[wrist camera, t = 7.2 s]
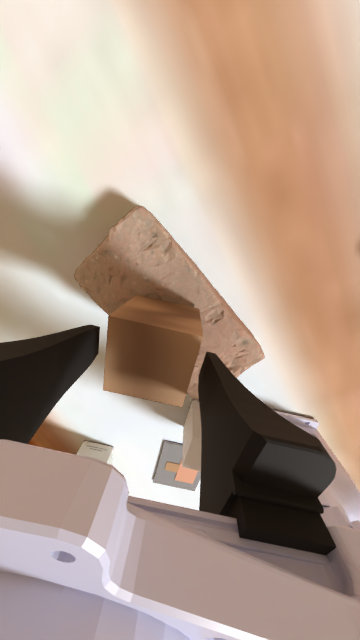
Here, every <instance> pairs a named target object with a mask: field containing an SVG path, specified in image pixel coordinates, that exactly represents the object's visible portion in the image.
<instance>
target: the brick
mask: <svg viewBox="0 0 360 640" xmlns="http://www.w3.org/2000/svg"><path fill="white" fill-rule="evenodd" d="M74 277H75V279H76V280H77V281H78V282H79V285H80V286H81V287H82V288H83V289H84V290H85V291H86V292H87V293H88V294H89V295H90V297H91V298H92V299H93V300H94V301H95V302H96V303H97V304H98V305H99V306H100V307H101V308H102V309H103V310H104V311H105V312H106V313H107V314H108V315H110V314H111V313H113V312H114V311H115V310H117V309H118V308H119V307H121V306H122V305H123V304H125V303H126V302H127V301H129V300H130V299H132V298H133V297H134V296H136V295H142V296H146V297H150V298H155V299H159V300H163V301H168V302H172V303H176V304H181V305H185V306H190V307H194V308H198V309H199V310H200V317H201V324H202V331H203V340H202V343H201V347H200V350H199V353H198V357H197V360H196V363H195V367H194V370H193V373H192V377H191V380H190V383H189V387H188V390H187V393H188V394H189V395H190V397H191V398H193V399H199V396H198V376H199V373H200V370H201V367H202V364H203V361H204V358H205V355H206V351H207V352H211V353H215V354H216V355H217V356H218V357H219V358H220V359H221V361H222V362H223V363H224V364H225V366H226V367H227V368H228V369H229V370H230V372H231V373H232V374H233V375H234V376H235V377H236V378H237V377H238V376H239V375H240V374H241V373H243V372H244V371H245V370H247V369H248V368H249V367H251V366H252V365H254V364H256V363H257V362H259V361H261V360H262V359H264V358H265V357H264V353H263V351H262V349H261V346H260V345H259V343H258V342H257V341H256V339H255V338H254V336H253V335H252V333H251V332H250V330H249V329H248V328H247V327H246V326H245V324H244V323H243V322H242V321H241V320H240V319H239V318H238V316H237V315H236V314H235V313H234V311H233V310H232V309H231V307H230V306H229V305H228V304H227V303H226V301H225V300H224V298H223V297H222V296H221V295H220V294H219V293H218V291H217V290H216V289H215V288H214V287H213V286H212V284H211V283H210V282H209V281H208V279H207V278H206V277H205V275H204V274H203V273H202V272H201V271H200V269H199V268H198V267H197V265H196V264H195V263H194V262H193V261H192V259H191V258H190V257H189V256H188V255H187V254H186V253H185V252H184V250H183V249H182V248H181V247H180V245H179V244H178V243H177V242H176V241H175V240H174V239H173V237H172V236H171V235H170V234H169V232H168V231H167V230H166V229H165V228H164V227H163V226H162V224H161V223H160V222H159V221H158V220H157V219H156V218H155V217H154V216H153V214H152V213H151V212H149V211H148V210H147V209H146V208H144V207H143V206H137V207H134V208H133V209H132V210H131V211H130V212H129V213H128V214H127V215H126V216H125V217H124V218H122V219H121V220H120V221H118V224H116V225H115V226H113V227H112V228H111V229H110V231H109V234H108V236H107V237H106V238H105V239H104V241H103V243H102V244H101V245H99V246H98V248H97V249H96V250H95V251H94V252H93V253H92V254H91V255H90V256H88V257H87V258H85V260H84V261H83V263H82V264H81V265H80V266H79V267H78V268H77V269H76V272H75V275H74Z"/></svg>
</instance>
